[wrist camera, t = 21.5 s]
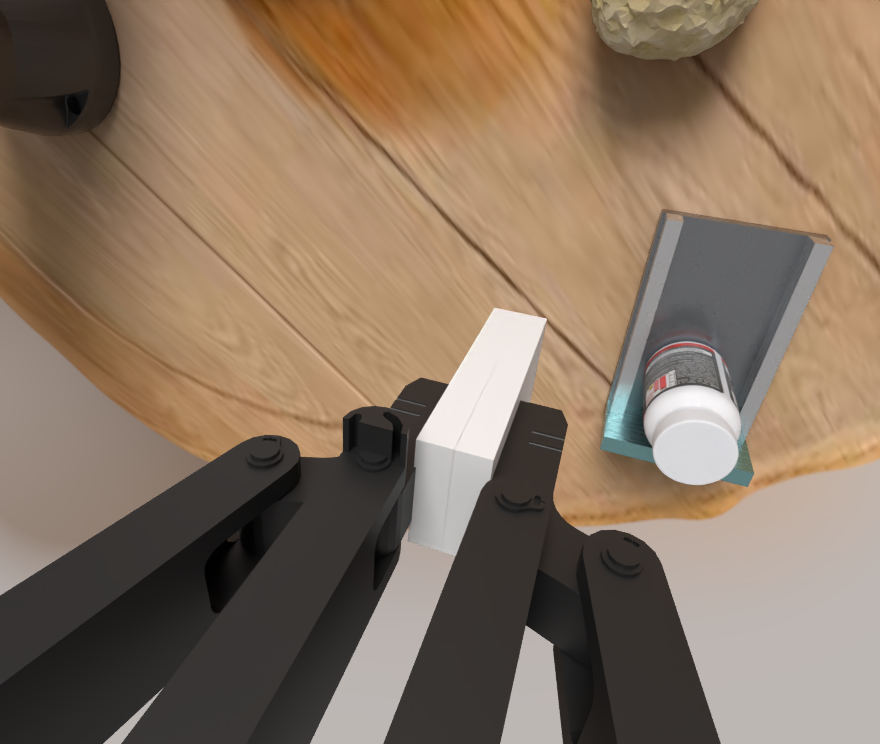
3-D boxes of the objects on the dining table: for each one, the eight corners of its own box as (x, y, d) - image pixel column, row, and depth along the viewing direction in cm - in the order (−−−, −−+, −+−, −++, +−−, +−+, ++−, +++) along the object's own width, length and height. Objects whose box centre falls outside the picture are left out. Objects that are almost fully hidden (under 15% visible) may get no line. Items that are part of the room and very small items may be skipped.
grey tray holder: (661, 208, 38) (664, 232, 33) (826, 235, 36) (855, 265, 31) (605, 406, 46) (600, 449, 41) (736, 437, 44) (747, 486, 39)
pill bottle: (627, 376, 43) (622, 453, 35) (681, 323, 40) (690, 394, 32) (687, 420, 43) (697, 507, 35) (746, 370, 40) (772, 453, 32)
